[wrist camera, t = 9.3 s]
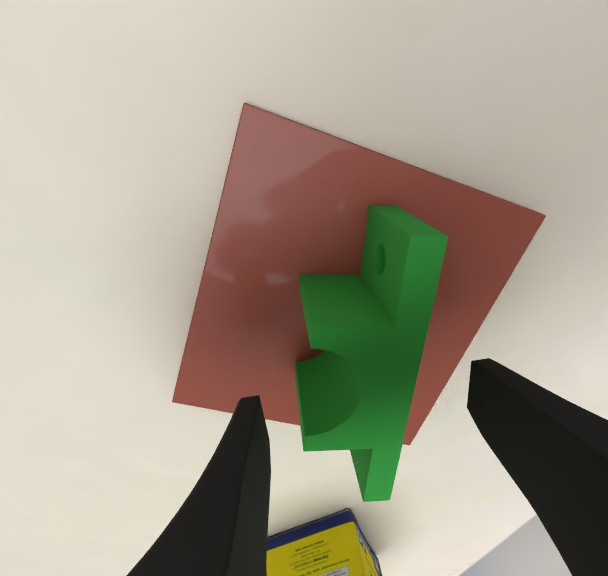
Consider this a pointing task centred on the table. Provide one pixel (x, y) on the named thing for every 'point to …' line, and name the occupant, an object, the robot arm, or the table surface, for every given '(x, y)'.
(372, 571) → the supplement box
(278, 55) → the table surface
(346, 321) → the pipe clamp
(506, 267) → the napkin
